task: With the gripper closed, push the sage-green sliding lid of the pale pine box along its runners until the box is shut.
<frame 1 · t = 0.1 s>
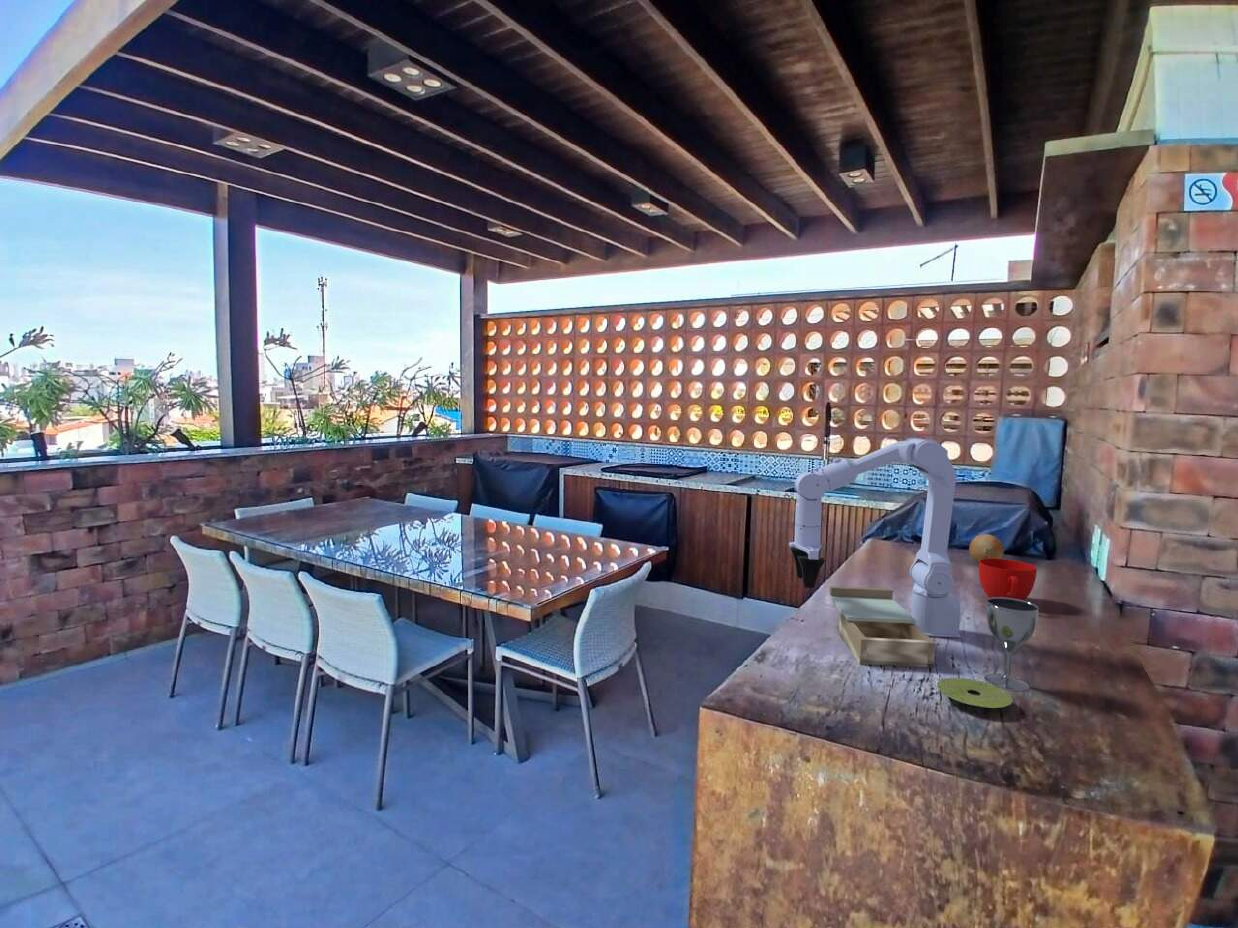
hand: (805, 582, 142), 10 cm above the table, tool pointing down, fingers open, 7 cm apart
onion: (985, 564, 202), on the table
wine glass: (1006, 683, 114), on the table
ceramic cup: (1006, 604, 161), on the table
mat: (972, 703, 106), on the table
lid: (870, 603, 138), point 7 cm above the table, slide at 10.0 cm
box: (883, 649, 128), on the table
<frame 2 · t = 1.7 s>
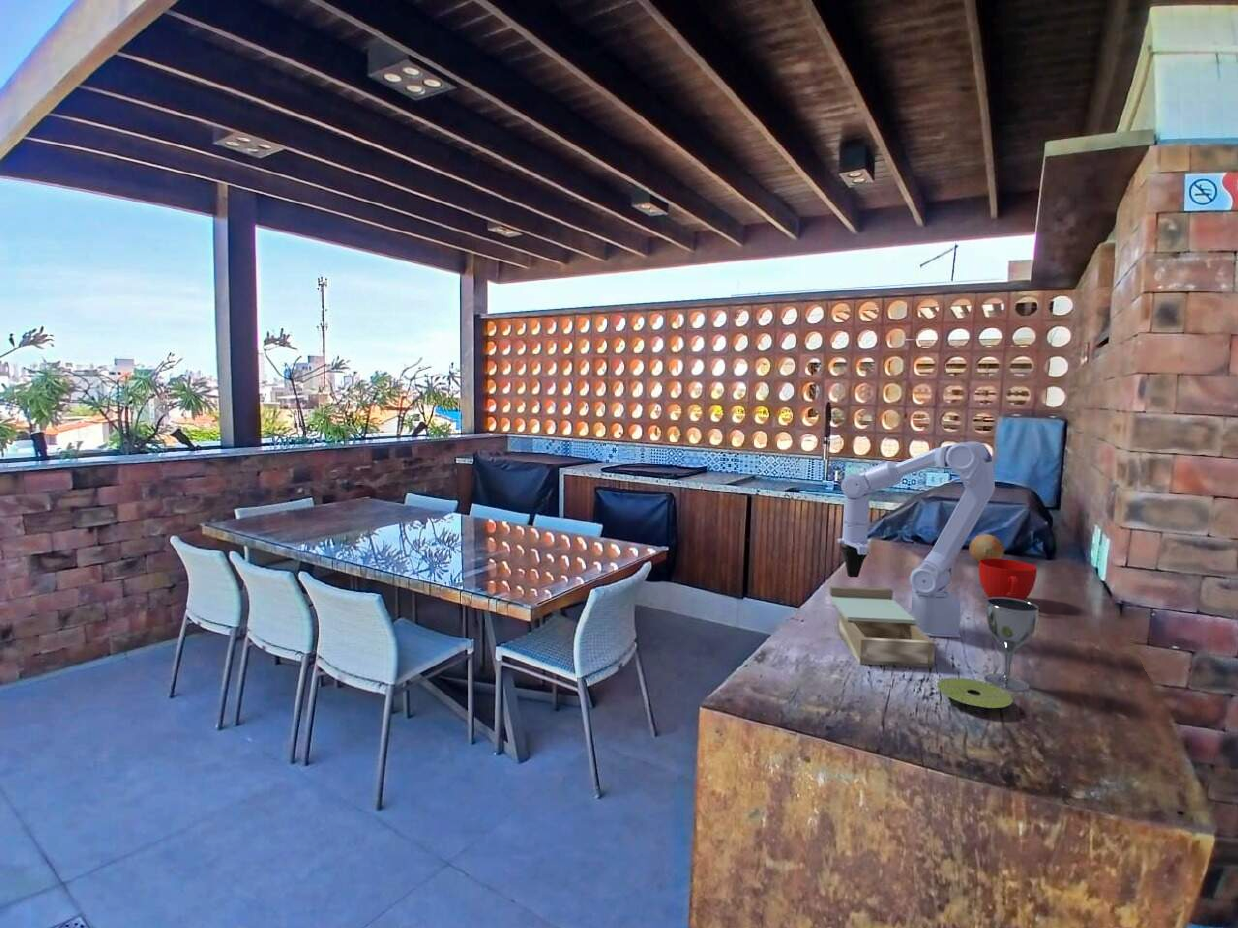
hand: (852, 576, 151), 9 cm above the table, tool pointing down, fingers closed
nothing on the table moved.
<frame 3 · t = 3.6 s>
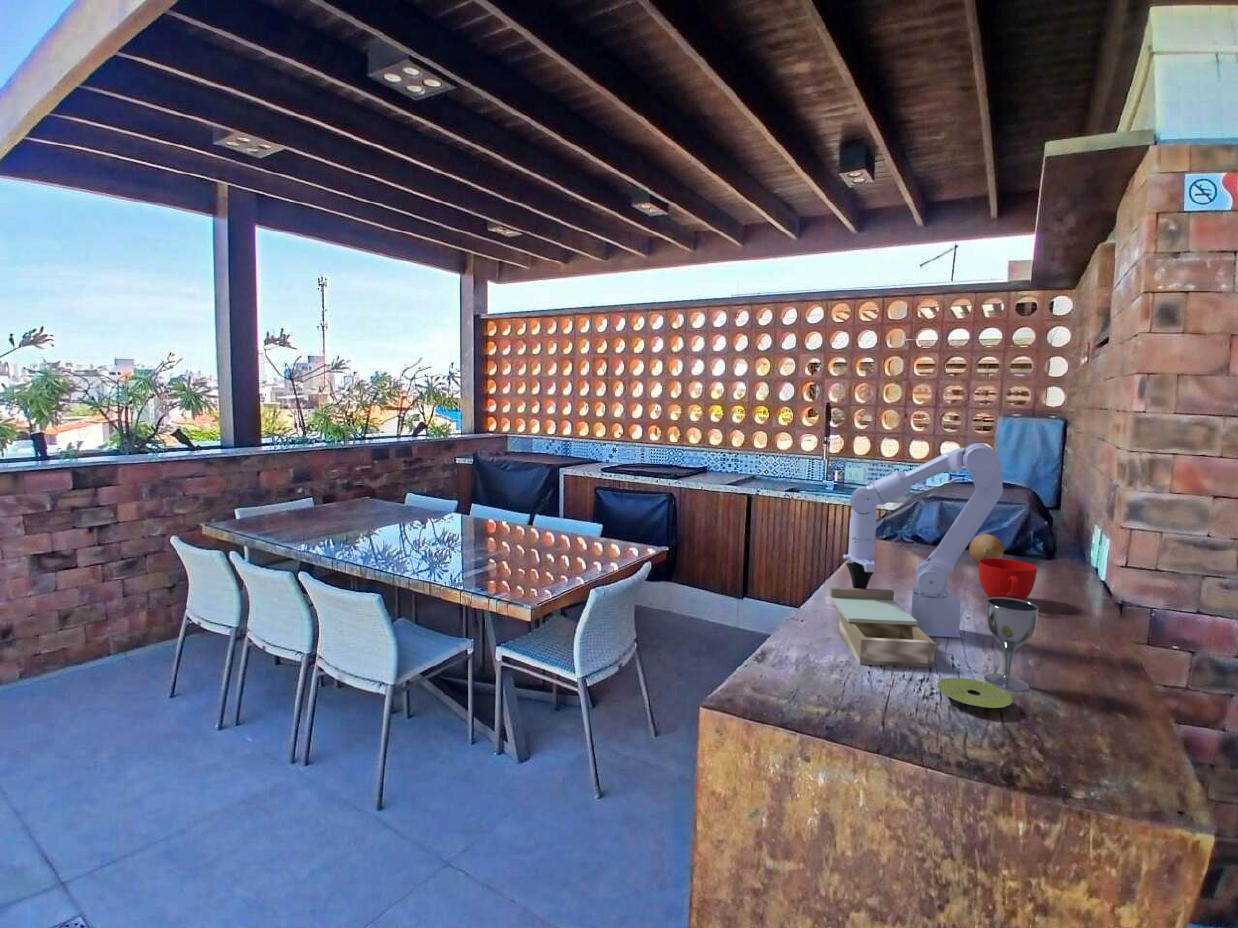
hand: (859, 593, 146), 6 cm above the table, tool pointing down, fingers closed
lid: (871, 604, 137), point 7 cm above the table, slide at 9.1 cm, touching gripper
everything else where it was.
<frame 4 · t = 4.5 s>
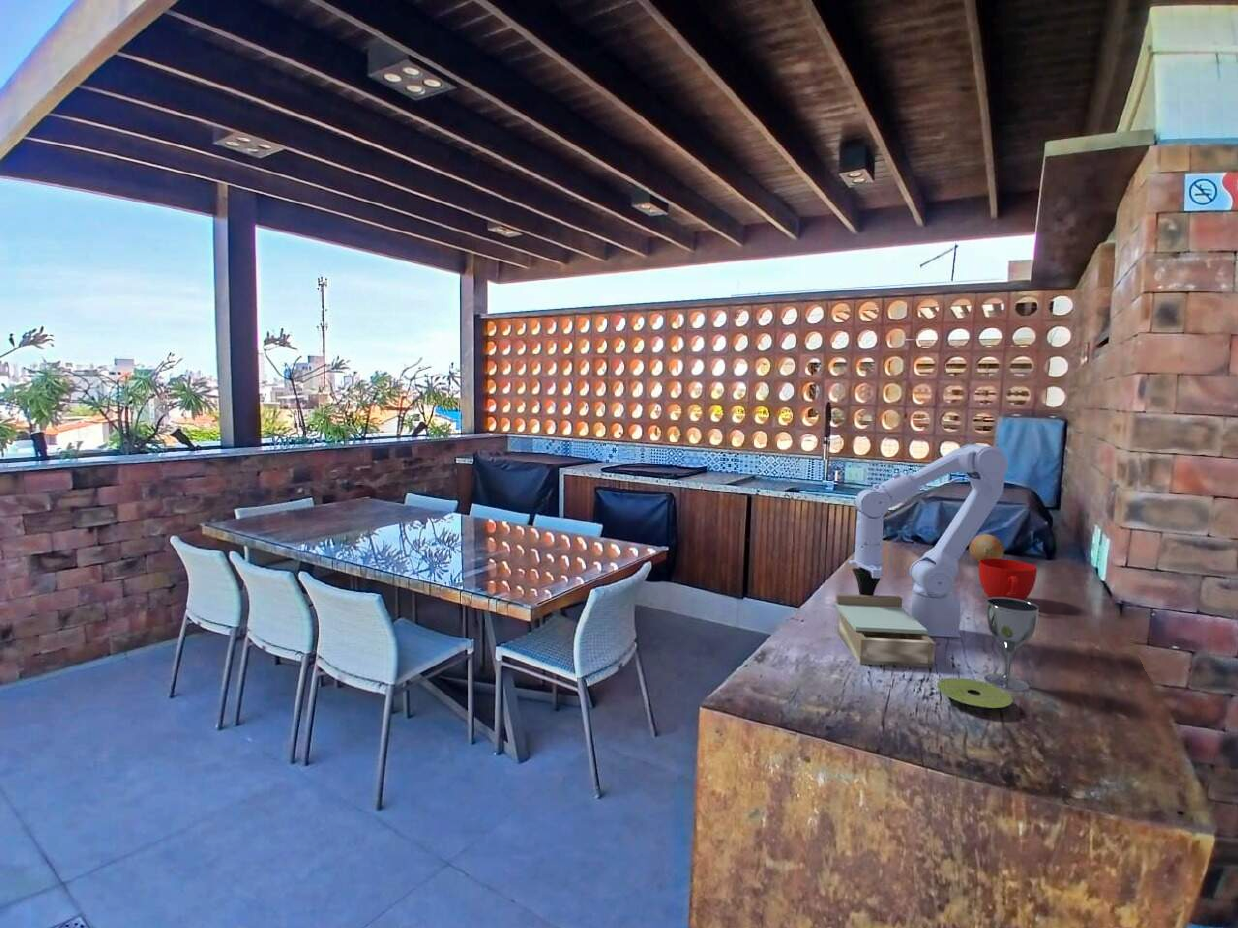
hand: (865, 600, 141), 6 cm above the table, tool pointing down, fingers closed
lid: (878, 612, 132), point 7 cm above the table, slide at 3.9 cm, touching gripper
everything else where it was.
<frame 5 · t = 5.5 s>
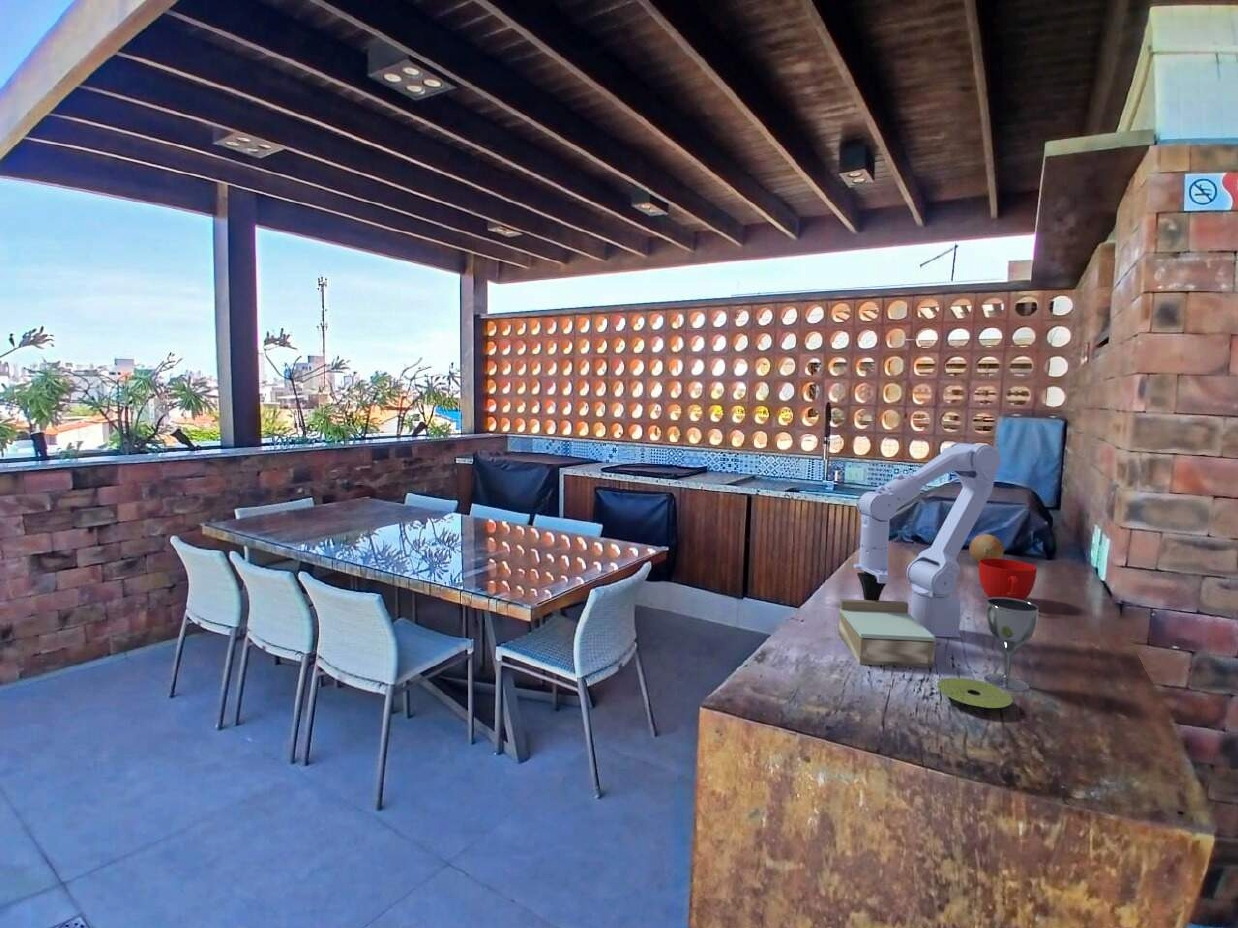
hand: (870, 606, 137), 6 cm above the table, tool pointing down, fingers closed
lid: (884, 618, 128), point 7 cm above the table, slide at 0.1 cm, touching gripper
everything else where it was.
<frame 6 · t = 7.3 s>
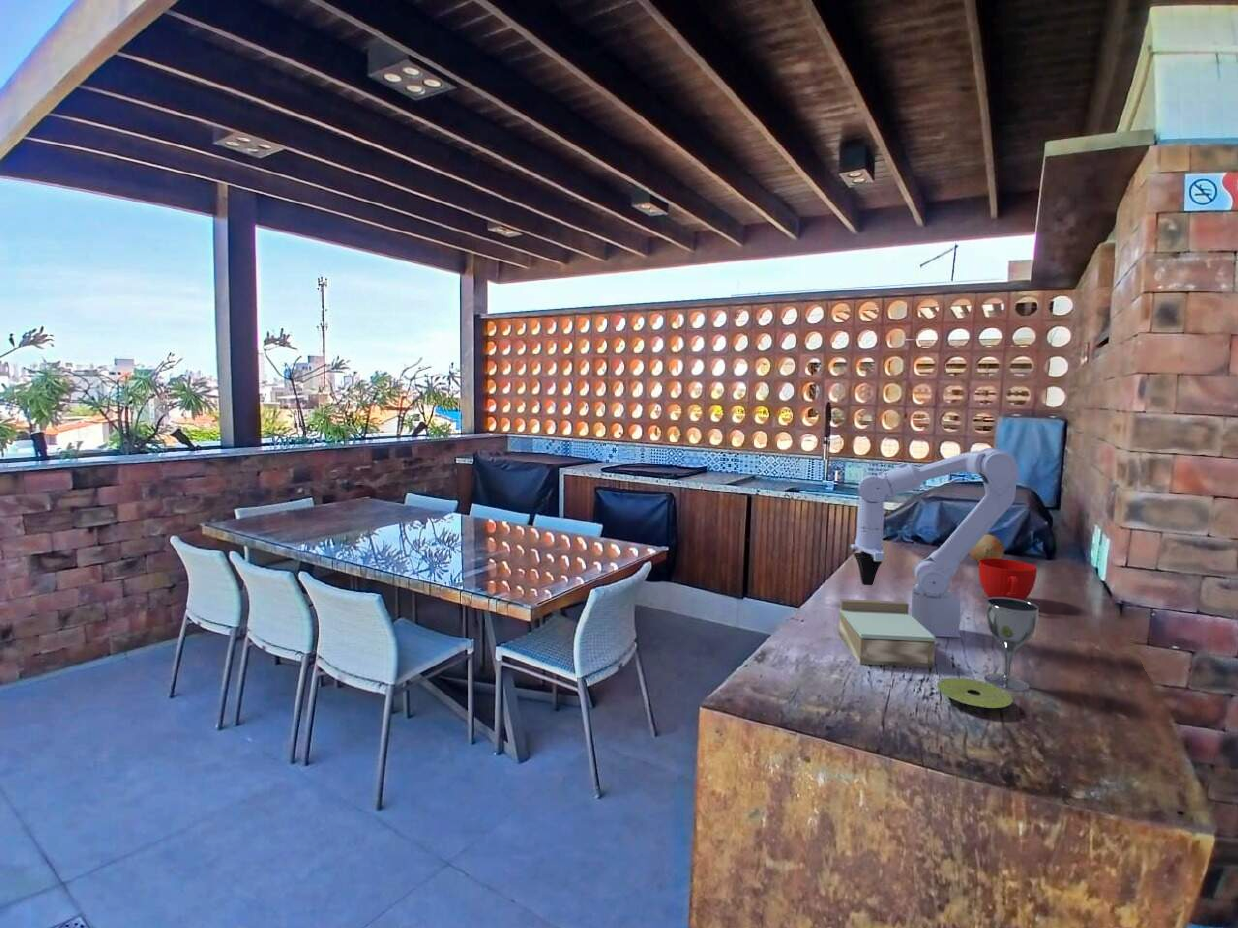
hand: (867, 584, 144), 9 cm above the table, tool pointing down, fingers closed
lid: (884, 618, 128), point 7 cm above the table, slide at 0.0 cm
everything else where it was.
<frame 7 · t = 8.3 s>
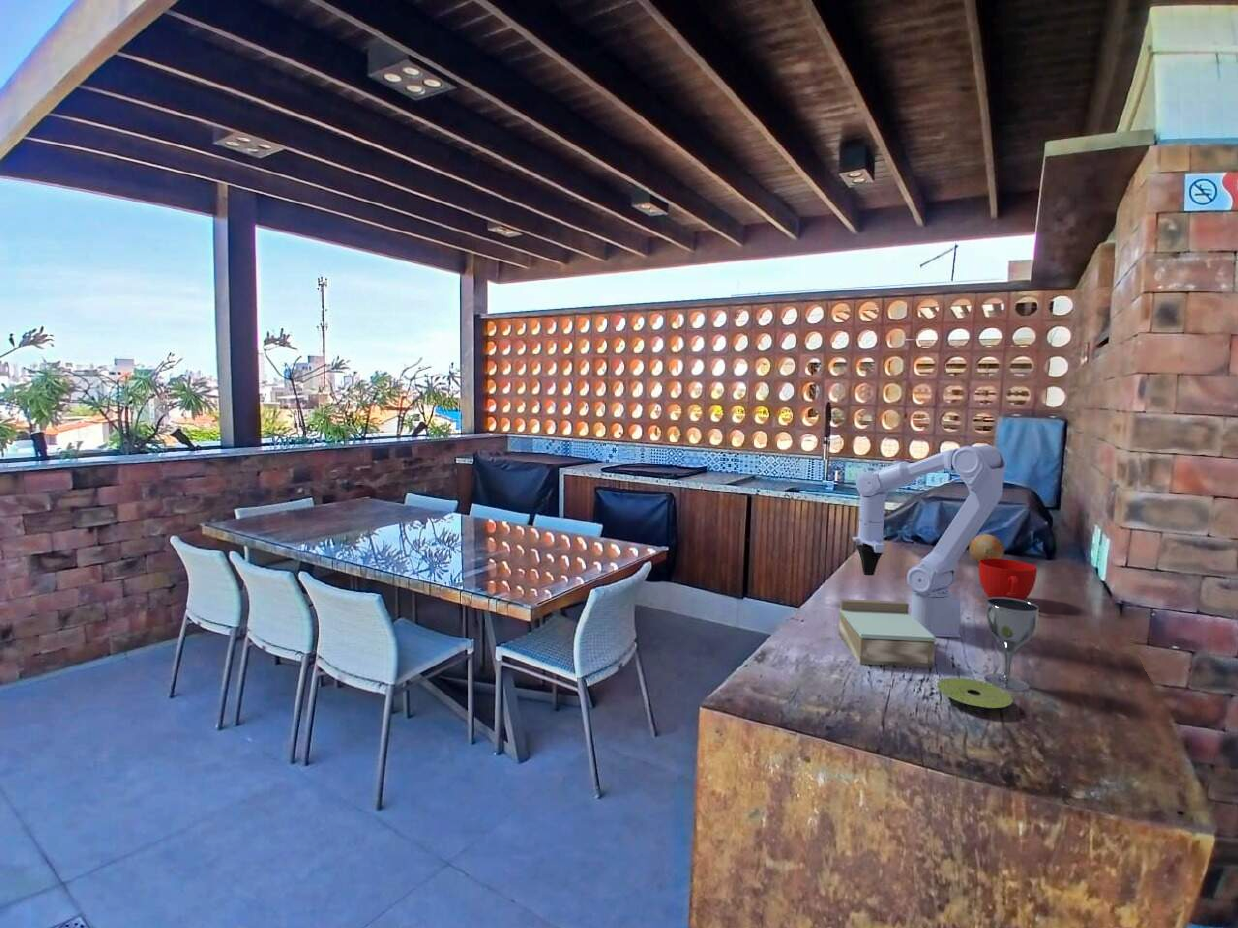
hand: (868, 574, 152), 9 cm above the table, tool pointing down, fingers closed
nothing on the table moved.
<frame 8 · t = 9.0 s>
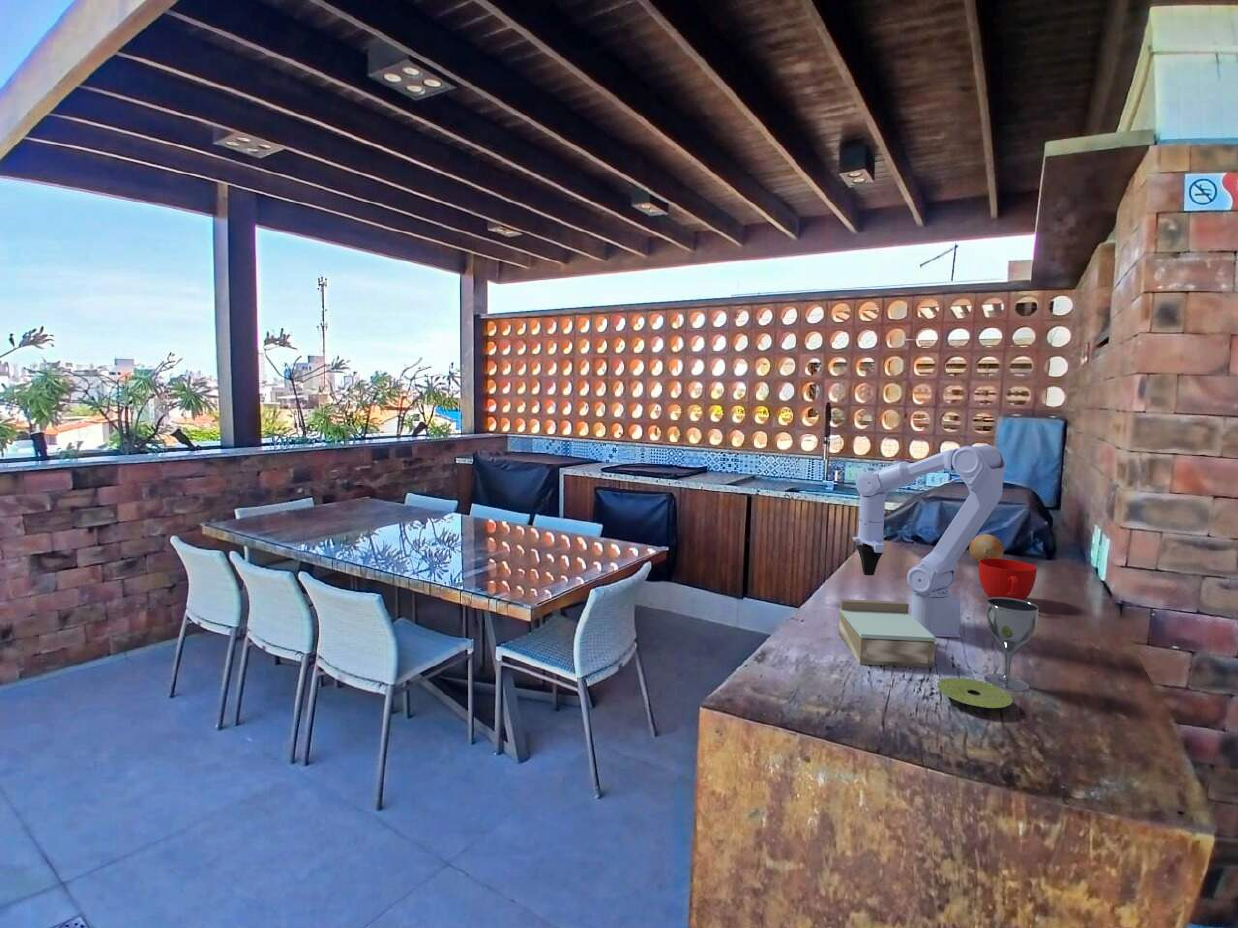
hand: (868, 574, 152), 9 cm above the table, tool pointing down, fingers closed
nothing on the table moved.
at the end: lid slide at 0.0 cm; wine glass moved 0.2 cm from its start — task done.
